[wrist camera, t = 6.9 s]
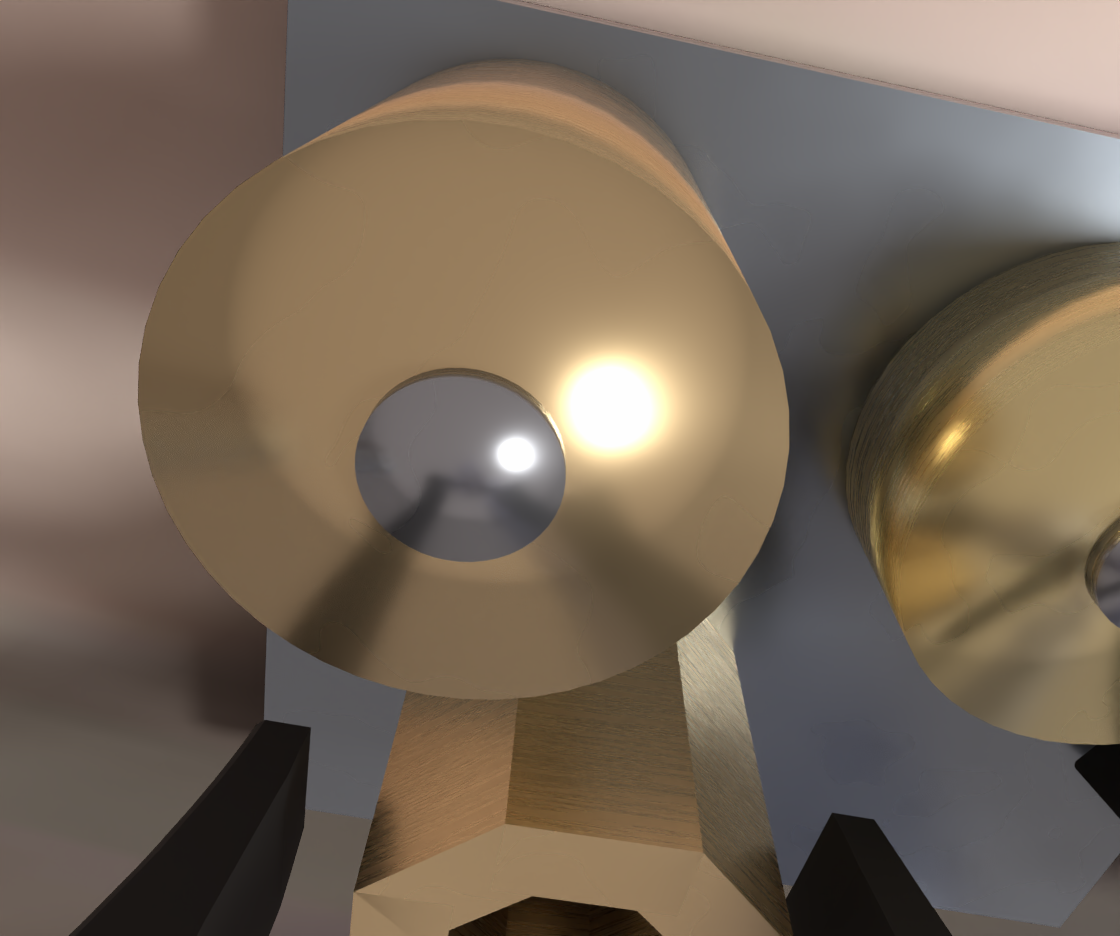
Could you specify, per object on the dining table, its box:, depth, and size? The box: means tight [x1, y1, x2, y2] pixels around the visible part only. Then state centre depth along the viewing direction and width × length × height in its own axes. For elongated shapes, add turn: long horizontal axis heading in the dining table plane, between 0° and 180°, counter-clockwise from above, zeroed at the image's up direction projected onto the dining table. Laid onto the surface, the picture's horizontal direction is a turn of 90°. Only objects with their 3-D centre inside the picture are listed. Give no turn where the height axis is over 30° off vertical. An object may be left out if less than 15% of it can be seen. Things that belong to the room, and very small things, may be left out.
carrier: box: [138, 0, 1120, 928], centre depth 12 cm, size 14×16×7 cm
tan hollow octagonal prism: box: [350, 618, 793, 936], centre depth 12 cm, size 5×5×5 cm
